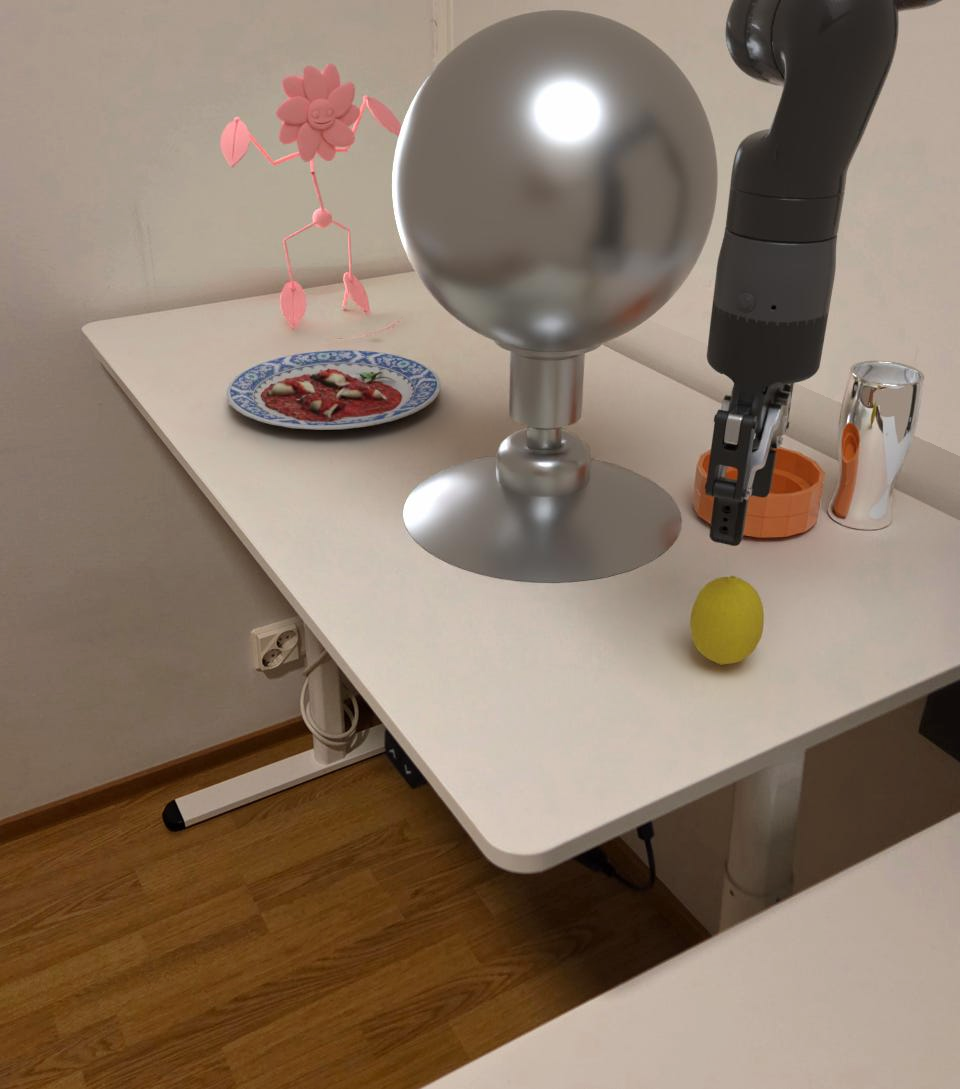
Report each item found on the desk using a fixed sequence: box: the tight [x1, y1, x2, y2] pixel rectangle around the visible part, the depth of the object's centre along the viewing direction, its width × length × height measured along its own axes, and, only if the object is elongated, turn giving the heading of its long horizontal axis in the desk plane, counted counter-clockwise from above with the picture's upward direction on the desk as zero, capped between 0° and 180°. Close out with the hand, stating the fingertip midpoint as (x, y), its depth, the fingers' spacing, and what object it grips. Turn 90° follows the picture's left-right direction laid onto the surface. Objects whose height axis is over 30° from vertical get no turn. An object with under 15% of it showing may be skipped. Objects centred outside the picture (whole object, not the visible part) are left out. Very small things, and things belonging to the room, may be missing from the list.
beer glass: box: [827, 360, 925, 531], centre depth 106 cm, size 7×7×15 cm
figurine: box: [220, 63, 402, 337], centre depth 152 cm, size 15×26×35 cm, turn 122°
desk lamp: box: [391, 9, 719, 583], centre depth 99 cm, size 28×28×45 cm
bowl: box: [692, 446, 826, 538], centre depth 108 cm, size 12×12×5 cm
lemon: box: [689, 575, 765, 666], centre depth 85 cm, size 6×6×8 cm
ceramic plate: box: [225, 349, 442, 431], centre depth 134 cm, size 26×26×3 cm
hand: (740, 516), depth 81 cm, fingers open, 8 cm apart
